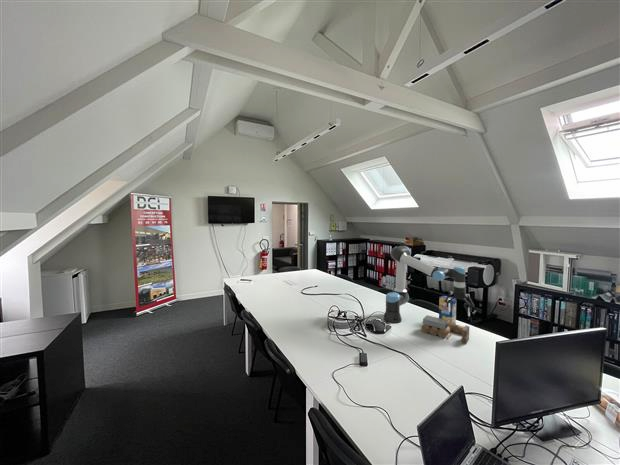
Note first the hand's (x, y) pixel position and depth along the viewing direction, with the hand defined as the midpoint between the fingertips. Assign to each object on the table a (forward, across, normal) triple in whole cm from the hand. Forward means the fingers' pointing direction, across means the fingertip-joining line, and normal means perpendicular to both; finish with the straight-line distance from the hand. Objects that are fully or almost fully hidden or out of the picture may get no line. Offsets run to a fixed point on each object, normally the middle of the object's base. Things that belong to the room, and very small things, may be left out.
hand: (458, 313), depth 195 cm
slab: (+9, -13, -12) cm, 20 cm away
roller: (+15, 0, 0) cm, 15 cm away
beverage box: (+15, -11, +14) cm, 24 cm away
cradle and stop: (+15, +1, -12) cm, 20 cm away
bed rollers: (+15, -13, -12) cm, 24 cm away
